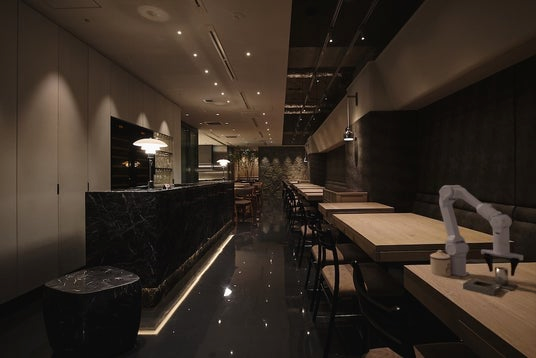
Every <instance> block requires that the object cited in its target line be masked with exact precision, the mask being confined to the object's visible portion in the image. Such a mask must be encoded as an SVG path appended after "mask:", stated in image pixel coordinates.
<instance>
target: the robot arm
mask: <svg viewBox="0 0 536 358" xmlns="http://www.w3.org/2000/svg"><path fill="white" fill-rule="evenodd" d="M438 193H439V199H438V203H439V204H438V205H439V207H440V213H441V216H442V220H443V223H444V227H445V228H444V229H445V232H446V234H447V238H446V239H445V253H446V254H447V255H450V257H451V259H450V261H451V275H455V276H458V277H466V276H467V275H469V274H470V272H469V271H467V254H468V252H469V251H470V247H469V244H468V243H467V241H466V240H465V238H464V237H463V236H462V235H461V232H460V230H459V229H460V228H459V225H458V222H457V218H456V214H455V211H454V207H453V204H454V202H455V201H457V200H458V199H461V200H462V201H464V202H466V203H467V204H469V205H470V206H472V207H473V208H475V209H476V213H477V214H478V215H480V216H481V217H482V218H484V219H485V220H487V221H488V222H489V224H490V226H491V228H492V239H493V240H492V248H493V249H481V250H480V253H481V255H483V256H482V258H483V259H484V261H485V262H486V264H487V267H488V270H489V272H490V273H492V272H493V271H494V266H493V265H494V264H493V260H494V257H499V258H507V259H509V262H510V276H511V277H514V276H515V273H516V269H517V267H518V265H519V263H520V262H521V261H523V260H524V255H523V254H517V253H514V252H510V251H511V250H510V246H511V245H510V227H511V225H512V223H513V221H512V218H511V217H510V216H509V215H508V214H505V213H504V214H502V212H501V211H499V210H497V209H496V208H494V207H493V205H492V204H491V203H486V202H485V203H482V202H481V201H480V200H479V199H477V198H476V197H475V196H474V195H472V194H471V193H470V192H469V191H467V189H466V188H464V187H463V186H461V185H459V184H455V185H449V184H447V185H446V184H445V185H443V186H441V188H440V189H439V191H438Z"/></svg>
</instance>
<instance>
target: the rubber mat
mask: <svg viewBox="0 0 536 358" xmlns="http://www.w3.org/2000/svg"><path fill="white" fill-rule="evenodd" d="M489 282H492V283H495V279H492V280H490V281H489ZM517 287H518V284H517V283H511V282H508V286H502V290H505V291H511V292H513V291H514V290H515V289H516V288H517Z"/></svg>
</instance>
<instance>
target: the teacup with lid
mask: <svg viewBox="0 0 536 358" xmlns="http://www.w3.org/2000/svg"><path fill="white" fill-rule="evenodd" d="M447 254H448V253H446V252H443V250H441V249H438V250H437V251H436V252H434V253H431V254H430V255H429V257H430V271H431V274H432V275H434V276H437V277H450V276H451V275H452V274H451V261H450V259H451V257H450V255H447Z"/></svg>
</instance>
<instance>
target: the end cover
mask: <svg viewBox="0 0 536 358" xmlns="http://www.w3.org/2000/svg"><path fill="white" fill-rule="evenodd" d="M494 280H495V283H497V284H501V285H502V286H508V283H509V268H507V267H505V266H504V267H503V266H495V267H494Z"/></svg>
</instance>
